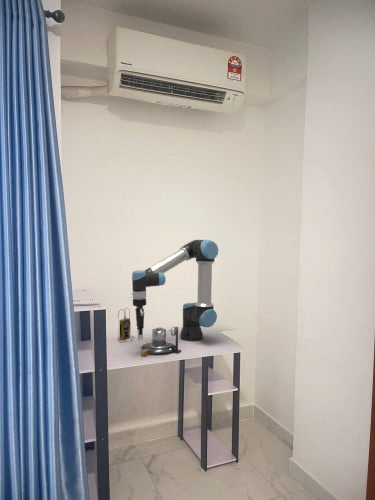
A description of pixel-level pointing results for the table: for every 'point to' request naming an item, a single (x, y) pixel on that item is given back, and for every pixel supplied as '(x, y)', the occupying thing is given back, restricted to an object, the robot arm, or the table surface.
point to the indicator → (175, 332)
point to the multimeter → (125, 327)
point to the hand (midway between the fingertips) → (140, 339)
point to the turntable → (147, 350)
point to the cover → (159, 339)
